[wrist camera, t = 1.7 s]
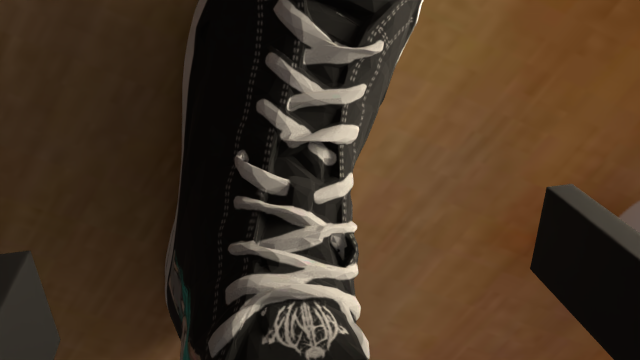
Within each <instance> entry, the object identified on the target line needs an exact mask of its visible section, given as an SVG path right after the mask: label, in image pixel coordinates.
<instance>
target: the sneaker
mask: <svg viewBox="0 0 640 360" xmlns="http://www.w3.org/2000/svg"><path fill="white" fill-rule="evenodd" d="M422 2H423V0H198V3H197V6H196V9H195V12H194V16H193V20H192V24H191V28H190V32H189V36H188V41H187V47H186V54H185V60H184V72H183V84H182V159H181V171H180V183H179V195H178V203H177V210H176V217H175V221H174V224H173V228H172V231H171V236H170V240H169V245H168V250H167V254H166V262H165V297H166V304H167V307H168V310H169V313H170V317H171V319H172V321H173V324H174V326H175V328H176V331H177V333H178V336H179V338H180V340H181V353H180V360H369V342H368V341H367V339H366V337H365V335H364V334H363V332H362V330H361V329H360V328H359V327H358V326H357V325H356V321H357V319H358V318H359V315H360V310H361V307H360V304H359V303H358V301H357V299H356V297H355V289H354V278H355V277H356V276H357V275H358V266H357V262H358V254H359V253H358V244H357V241H356V239H355V237H354V232H355V230H356V229H357V225H356V224H355V223H353V222H352V201H351V196H350V192H351V189H352V186H353V168H354V165H355V162H356V160H357V158H358V156H359V154H360V152H361V150H362V148H363V146H364V144H365V142H366V140H367V138H368V135H369V133H370V130H371V128H372V125H373V123H374V120H375V118H376V116H377V113H378V109H379V107H380V105H381V103H382V102H383V100H384V98H385V95H386V92H387V89H388V86H389V83H390V80H391V77H392V74H393V71H394V69H395V66H396V64H397V62H398V60H399V57H400V55H401V53H402V51H403V49H404V47H405V45H406V43H407V41H408V39H409V37H410V35H411V33H412V31H413V29H414V27H415V25H416V23H417V20H418V17H419V13H420V9H421V5H422Z"/></svg>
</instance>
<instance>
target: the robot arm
mask: <svg viewBox="0 0 640 360" xmlns="http://www.w3.org/2000/svg"><path fill="white" fill-rule="evenodd" d="M530 269H531V270H532V272H533V273H534V274H535V275H536V276H537V277H538V278H539V279H540V280H541V281H542V282H543V283H544V285H545V286H546V287H547V288H548V289H549V290H550V291H551V292H552V293H553V294H554V295H555V296H556V297H557V299H558V300H559V301H560V302H561V303H562V304H563V305H564V306H565V307H566V308H567V309H568V310H569V312H570V313H571V314H572V315H573V316H574V317H575V318H576V319H577V320H578V321H579V322H580V323H581V324H582V326H583V327H584V328H585V329H586V330H587V331H588V332H589V333H590V334H591V335H592V336H593V337H594V339H595V340H596V341H597V342H598V343H599V344H600V345H601V346H602V347H603V348H604V349H605V350H606V351H607V353H608V354H609V355H610V356H611V357H612V358H613V359H614V360H640V233H639V232H637V231H636V230H635V229H633V228H632V227H630V226H629V225H628V224H626V223H625V222H624V221H622V220H621V219H619V218H618V217H617V216H615V215H614V214H613V213H611V212H610V211H608V210H607V209H606V208H604V207H603V206H602V205H600V204H599V203H597V202H596V201H595V200H593V199H592V198H591V197H589V196H588V195H586V194H585V193H584V192H582V191H581V190H580V189H578V188H577V187H575V186H574V185H573V184H568V185H560V186H552V187H547V188H546V193H545V198H544V203H543V208H542V213H541V218H540V223H539V228H538V233H537V238H536V243H535V248H534V253H533V258H532V262H531V267H530ZM59 342H60V337H59V334H58V331H57V328H56V325H55V322H54V319H53V316H52V314H51V311H50V308H49V305H48V302H47V299H46V296H45V293H44V290H43V287H42V284H41V281H40V278H39V275H38V272H37V269H36V266H35V263H34V260H33V257H32V254H31V251H23V252H15V253H6V254H0V360H54V357H55V354H56V351H57V348H58V345H59Z"/></svg>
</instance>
